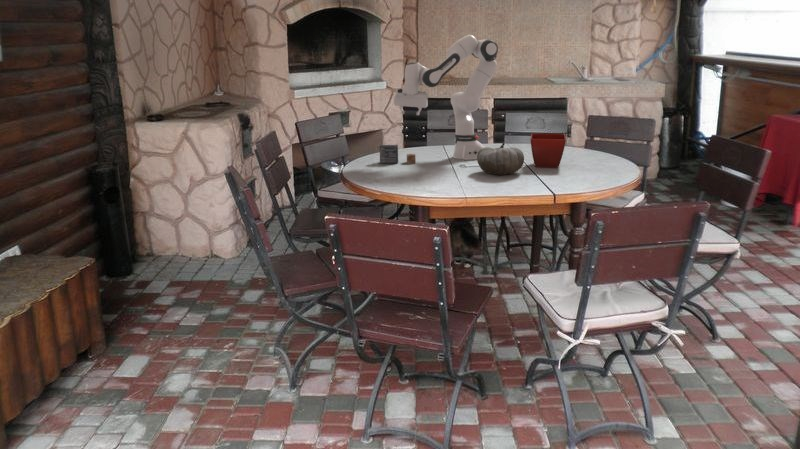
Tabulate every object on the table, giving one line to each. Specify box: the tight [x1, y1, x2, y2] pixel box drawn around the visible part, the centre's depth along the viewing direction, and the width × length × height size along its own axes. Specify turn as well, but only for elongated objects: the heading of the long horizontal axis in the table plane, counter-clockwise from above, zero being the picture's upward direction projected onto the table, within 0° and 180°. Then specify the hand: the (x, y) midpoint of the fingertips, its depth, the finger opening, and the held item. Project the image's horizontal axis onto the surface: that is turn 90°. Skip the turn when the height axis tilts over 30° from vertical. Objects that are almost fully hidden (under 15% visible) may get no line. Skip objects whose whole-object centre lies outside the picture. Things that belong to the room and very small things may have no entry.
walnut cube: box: [406, 153, 417, 165], centre depth 409 cm, size 5×5×5 cm
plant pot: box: [530, 132, 567, 169], centre depth 393 cm, size 19×19×17 cm
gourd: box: [476, 142, 525, 176], centre depth 376 cm, size 25×25×17 cm
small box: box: [379, 144, 399, 165], centre depth 410 cm, size 11×6×10 cm, turn 84°
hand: (410, 114), depth 407 cm, fingers open, 8 cm apart
